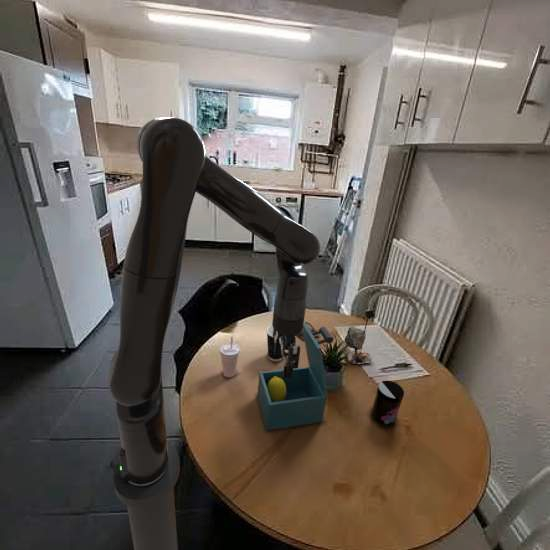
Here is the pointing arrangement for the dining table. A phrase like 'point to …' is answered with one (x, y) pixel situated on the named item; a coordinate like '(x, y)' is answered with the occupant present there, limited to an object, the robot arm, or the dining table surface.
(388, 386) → the supplement container
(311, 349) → the lid
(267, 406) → the teal lidded box
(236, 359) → the smoothie
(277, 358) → the dixie cup
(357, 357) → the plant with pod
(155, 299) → the robot arm
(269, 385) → the lemon
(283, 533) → the dining table surface
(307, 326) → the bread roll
